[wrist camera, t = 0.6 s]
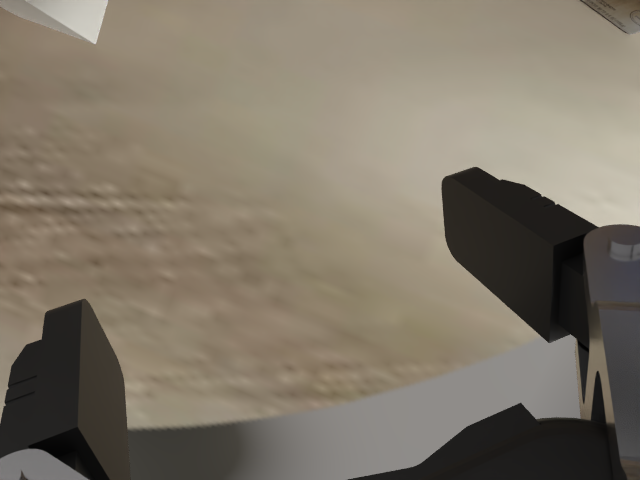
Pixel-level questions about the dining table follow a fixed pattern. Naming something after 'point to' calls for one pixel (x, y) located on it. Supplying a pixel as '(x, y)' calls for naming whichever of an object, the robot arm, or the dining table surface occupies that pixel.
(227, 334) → the dining table surface
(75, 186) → the dining table surface
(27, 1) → the block
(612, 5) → the coffee box
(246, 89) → the dining table surface
